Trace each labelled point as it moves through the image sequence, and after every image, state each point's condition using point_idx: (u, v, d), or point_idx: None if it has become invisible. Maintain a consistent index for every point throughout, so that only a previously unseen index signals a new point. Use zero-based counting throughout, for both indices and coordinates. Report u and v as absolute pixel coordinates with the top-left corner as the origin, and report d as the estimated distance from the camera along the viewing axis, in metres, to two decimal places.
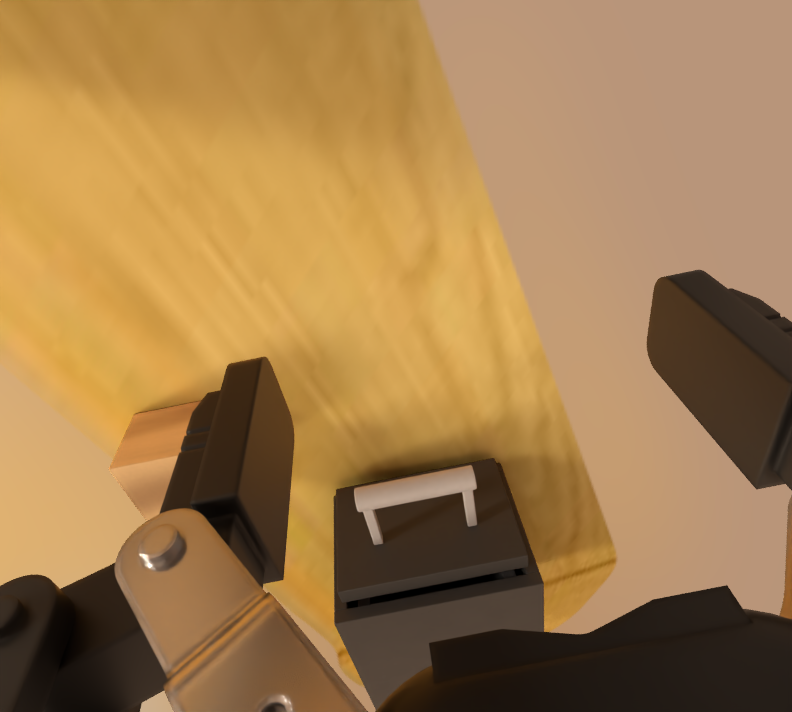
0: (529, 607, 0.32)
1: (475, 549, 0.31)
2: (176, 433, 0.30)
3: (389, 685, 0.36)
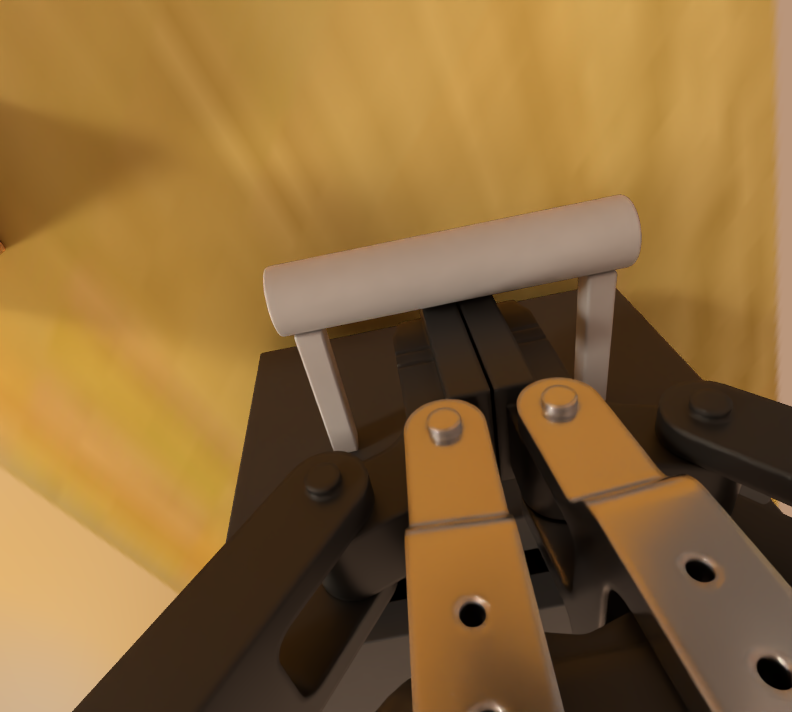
0: None
1: None
2: None
3: None
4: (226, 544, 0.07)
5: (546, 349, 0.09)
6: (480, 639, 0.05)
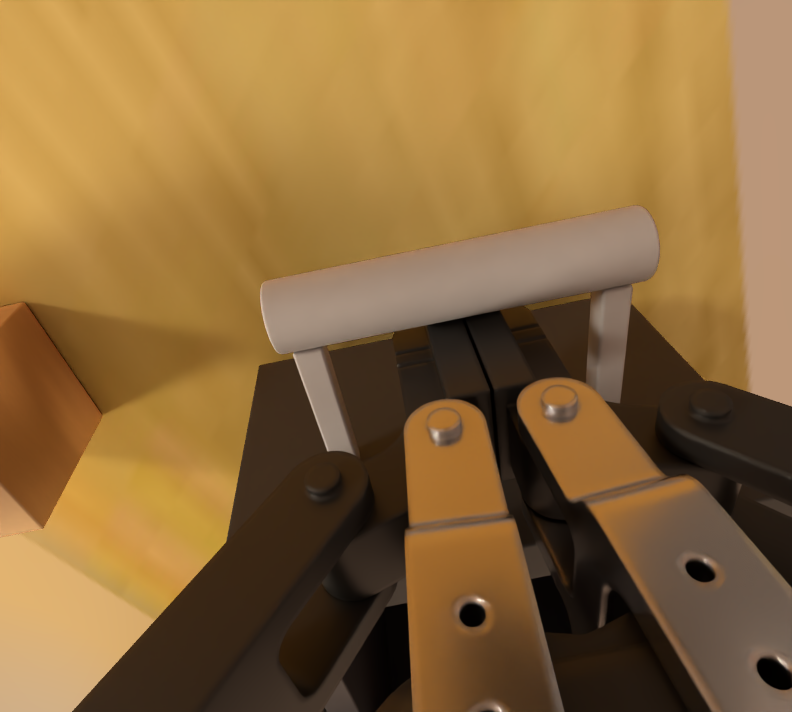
0: None
1: None
2: None
3: None
4: (226, 544, 0.07)
5: (546, 349, 0.09)
6: (479, 639, 0.05)
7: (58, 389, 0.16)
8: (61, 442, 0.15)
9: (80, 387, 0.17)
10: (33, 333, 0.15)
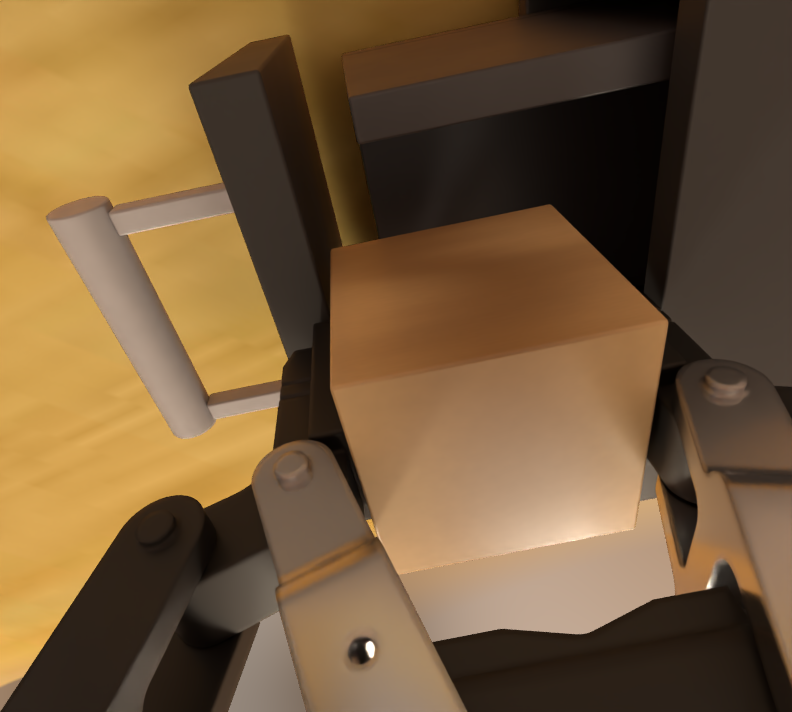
0: None
1: None
2: None
3: None
4: (57, 628, 0.06)
5: (677, 333, 0.09)
6: (374, 672, 0.05)
7: (462, 243, 0.10)
8: (540, 258, 0.09)
9: (484, 219, 0.10)
10: (370, 249, 0.10)
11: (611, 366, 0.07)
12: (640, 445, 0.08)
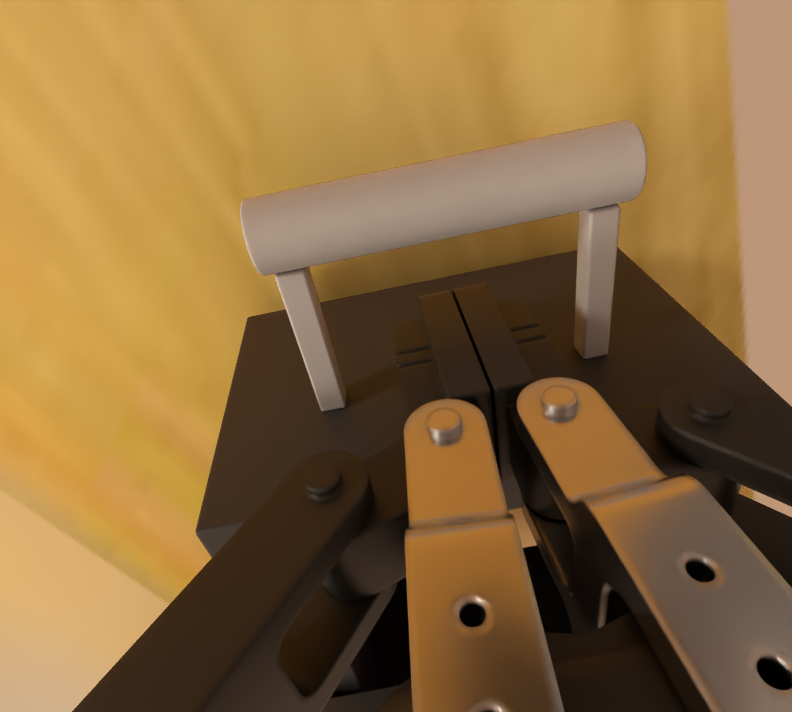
0: None
1: None
2: None
3: None
4: (226, 544, 0.07)
5: (546, 349, 0.09)
6: (480, 639, 0.05)
7: None
8: None
9: None
10: None
11: None
12: None
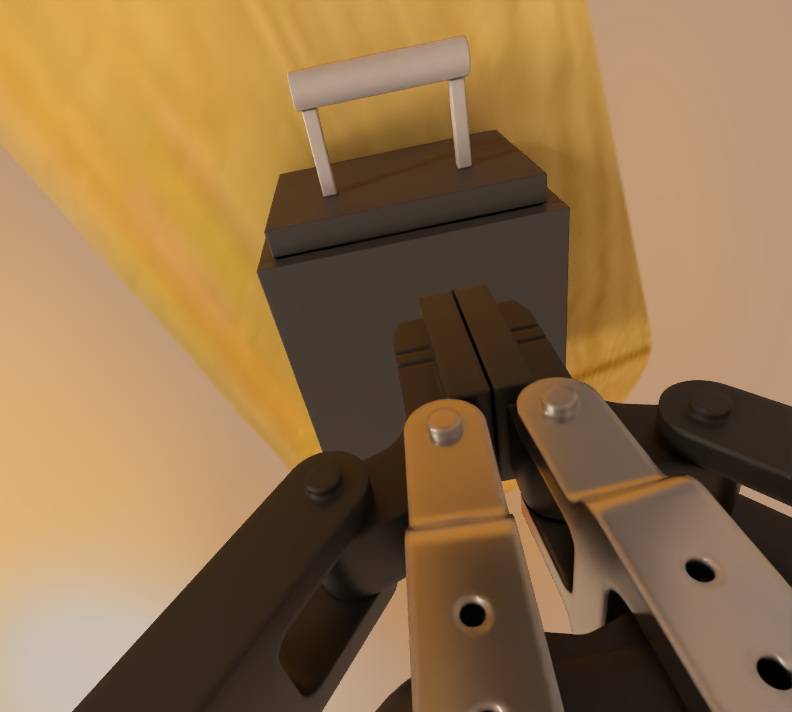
0: (547, 265, 0.22)
1: (469, 179, 0.21)
2: None
3: (349, 430, 0.26)
4: (226, 544, 0.07)
5: (546, 349, 0.09)
6: (480, 639, 0.05)
7: None
8: None
9: None
10: None
11: None
12: None
